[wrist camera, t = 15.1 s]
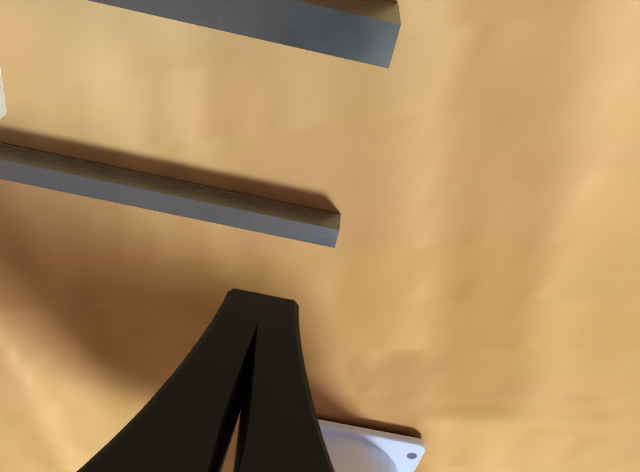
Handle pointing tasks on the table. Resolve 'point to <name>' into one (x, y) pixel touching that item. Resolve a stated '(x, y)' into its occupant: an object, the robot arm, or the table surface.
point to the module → (2, 99)
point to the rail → (203, 201)
